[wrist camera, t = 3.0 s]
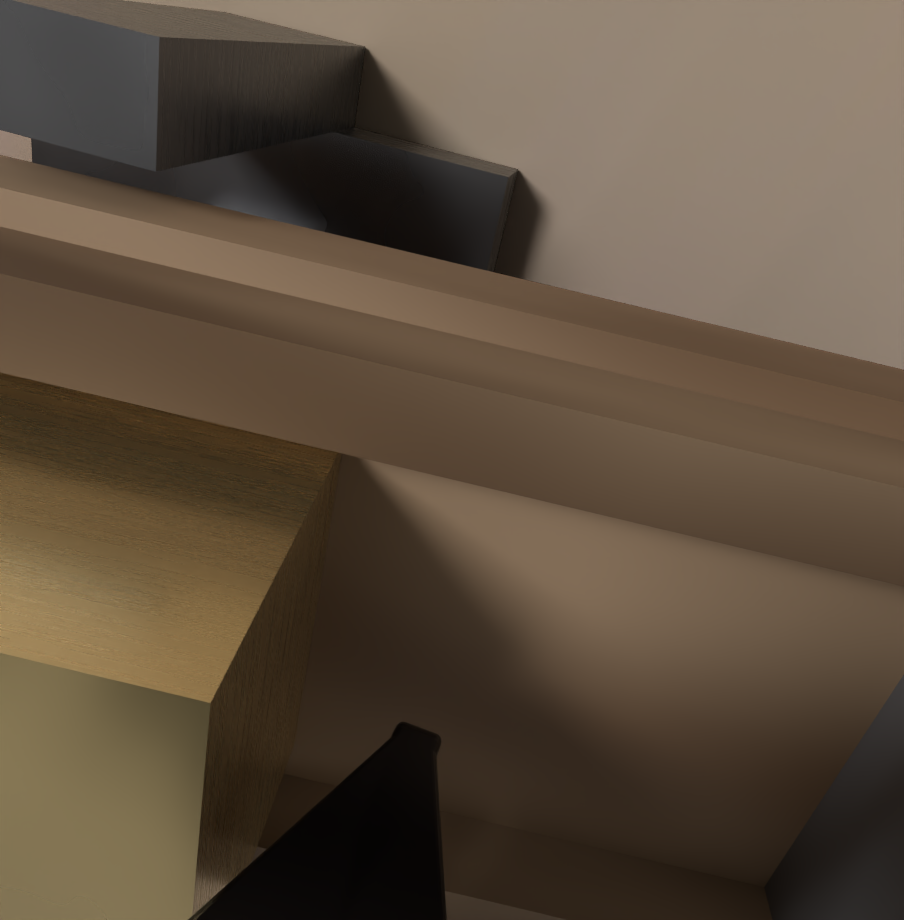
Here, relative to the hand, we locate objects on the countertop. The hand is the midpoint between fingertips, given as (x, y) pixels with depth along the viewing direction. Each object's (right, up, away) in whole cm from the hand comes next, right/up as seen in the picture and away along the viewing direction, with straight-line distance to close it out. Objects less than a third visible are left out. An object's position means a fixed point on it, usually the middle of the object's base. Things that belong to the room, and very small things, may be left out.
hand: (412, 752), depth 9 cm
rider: (-4, +2, +2) cm, 4 cm away
